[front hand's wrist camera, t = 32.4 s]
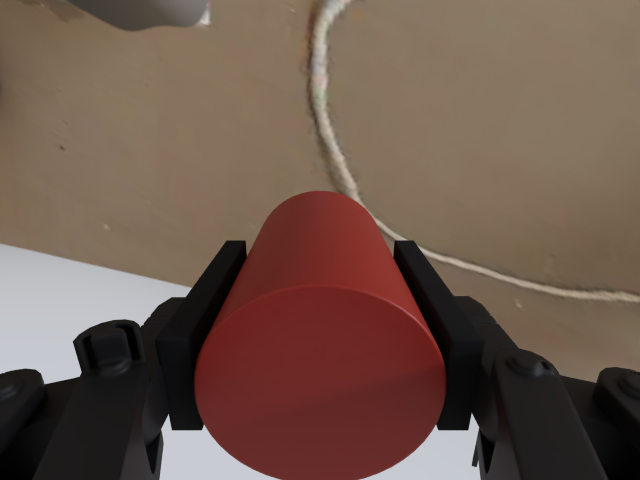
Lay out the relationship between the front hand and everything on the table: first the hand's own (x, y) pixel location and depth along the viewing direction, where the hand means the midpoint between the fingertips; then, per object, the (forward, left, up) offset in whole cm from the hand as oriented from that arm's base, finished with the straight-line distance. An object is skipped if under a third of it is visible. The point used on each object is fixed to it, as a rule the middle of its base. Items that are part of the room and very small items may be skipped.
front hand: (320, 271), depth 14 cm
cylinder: (0, 0, -3) cm, 3 cm away
